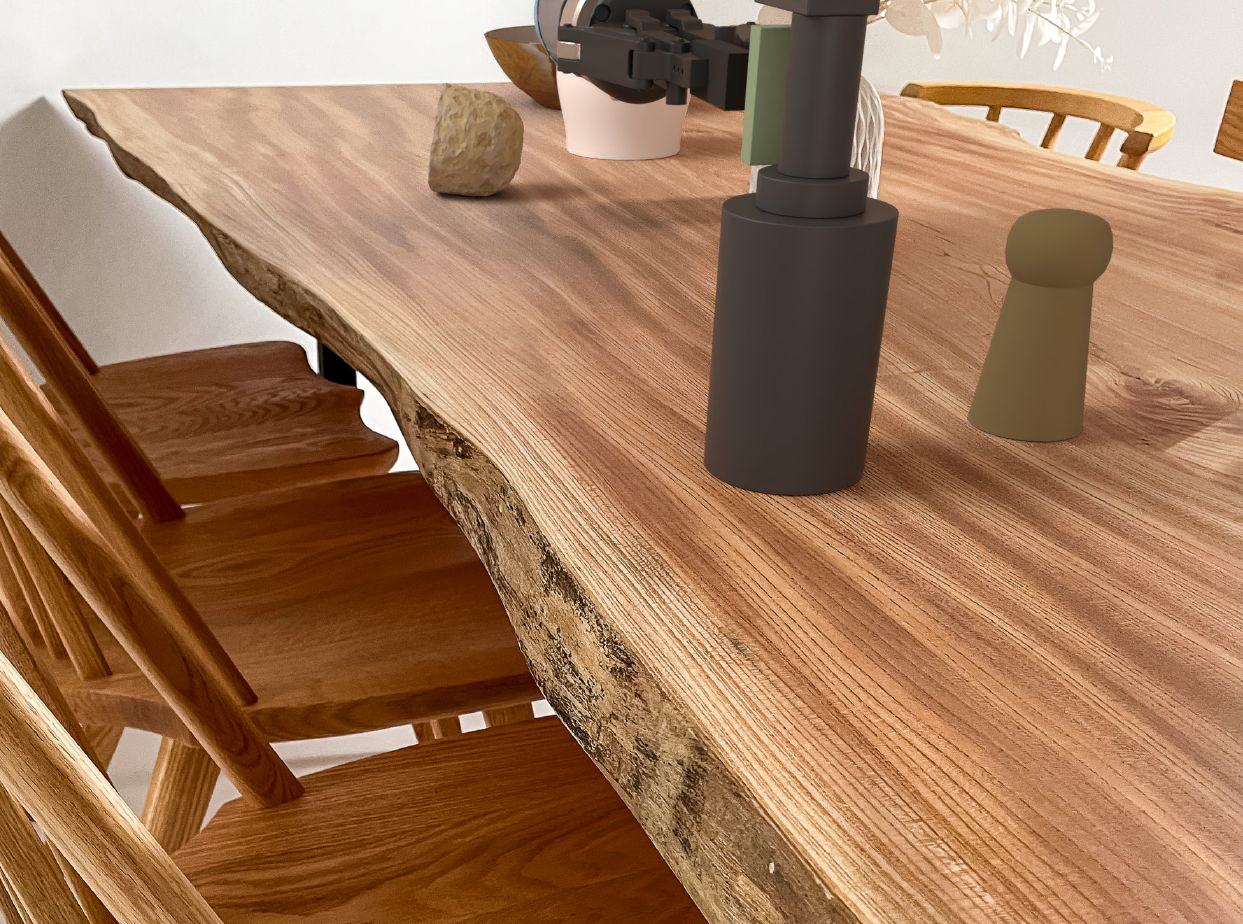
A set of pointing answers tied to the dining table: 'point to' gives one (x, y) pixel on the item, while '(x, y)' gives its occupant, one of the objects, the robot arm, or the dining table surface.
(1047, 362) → the cork
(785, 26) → the sage green tall block
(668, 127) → the vase
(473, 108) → the tan rough stone lump
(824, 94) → the spray bottle
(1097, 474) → the dining table surface
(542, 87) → the bowl
